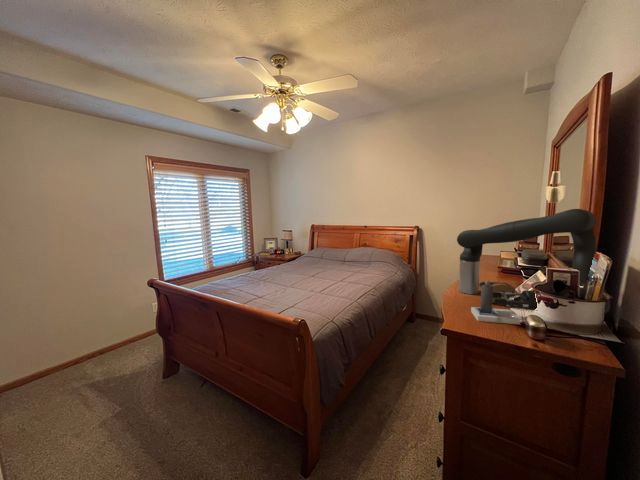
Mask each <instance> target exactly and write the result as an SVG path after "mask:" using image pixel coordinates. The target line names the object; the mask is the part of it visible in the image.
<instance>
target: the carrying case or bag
mask: <svg viewBox="0 0 640 480" xmlns="http://www.w3.org/2000/svg"><path fill="white" fill-rule="evenodd" d="M495 283H500V282H499V281H498V282H497V281H495V282H494V281H493V282H492V281H490V283H489V284H495ZM504 283H505V284H508V285H509V286H511V285H512V284H509V283H507V282H504ZM482 285H485V281H481V282H479V287H482Z"/></svg>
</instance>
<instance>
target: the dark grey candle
mask: <svg viewBox="0 0 640 480" xmlns="http://www.w3.org/2000/svg"><path fill="white" fill-rule="evenodd" d="M484 282H485V285H482V287H481V286H480V287H481V290H480V291H481V293H480V308H481V310H480V313H488V314H492V308H493V302H492V299H493V287H492V286H489V283H490V282H491V281H490V280H485V281H484Z"/></svg>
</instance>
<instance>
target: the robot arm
mask: <svg viewBox="0 0 640 480" xmlns="http://www.w3.org/2000/svg"><path fill="white" fill-rule="evenodd" d="M593 214H594V213H593V212H592V211H589V210H586V209H582V208H571V209H568V210H564V211H561V212H557V213H554V214H550V215H545V216H541V217H533V218H525V219H520V220H514V221H508V222H504V223H500V224H497V225H493V226H490V227H486V228H482V229H469V230H463V231H461V232H460V233H459V234H458V235H457V238H456V242H457V244H458V245H459V246H460V247H462V248H463V251H462V252H461V253H460V256H459V279H458V291H459V292H460V293H463V294H467V295H477V294H479V291H480V288H479V287H480V285H479V284H480V266H481V262H480V261H481V257H482V253H483V246H484V245H487V244H505V243H506V244H507V243H514V242H521V241H522V242H523V241H527V240H530V239H534V238H537V237H541V236H545V235H551V234H565V233H569V234H570V235H571V238H572V243H573V254H572V255H573V256H572V270H573V269H577V270H579V271H580V286H583V285H584V284H585V282H586V279H587V276H588V274H589V271H590V267H591V265H592V260H593V257H594V254H595V253H596V254H597V244H596V236H595V235H594V232H593V228H594V226H595V224H596V225H597V217H596V215H595V214H594V215H595V216H594V215H593ZM595 217H596V218H595ZM534 291H535V290H523V291H521V293H520V295H519V294H517V293H515V292H516V291H515V292H514V291H500V290H499V291H498V292H493V298H501V299H495V301H494V303H493V304H495V305H499V306H507V307H509V308H510V309H523V310H527V311H529V310H530V311H536V310H535V309H536V308H537V302H536V298H535V293H534ZM604 293H606V294H607V291H606V289H605V288H604ZM501 294H503V295H501ZM607 295H608V294H607ZM610 308H611V301H610V299H609V300H608V301H607V302H606V305H605V312H604V314H603V315H605V314H607V313H608V312H609V311H610Z"/></svg>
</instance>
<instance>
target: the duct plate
mask: <svg viewBox="0 0 640 480" xmlns="http://www.w3.org/2000/svg"><path fill="white" fill-rule="evenodd" d="M470 308H471V309H470V313H472V315H473V317H474V318H475V319H476V321H477V322H486V323H487V322H488V323H499V324H511V325H521V324H520V323H519V322H518V321H520V320H523V318H522V317H520V315H518V314H517V313H516V312H515V311H514V310H512V309H505V308H493V307H492V314H488V313H480V310H481V307H476V306H471V307H470ZM512 316H514V317H512Z"/></svg>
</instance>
